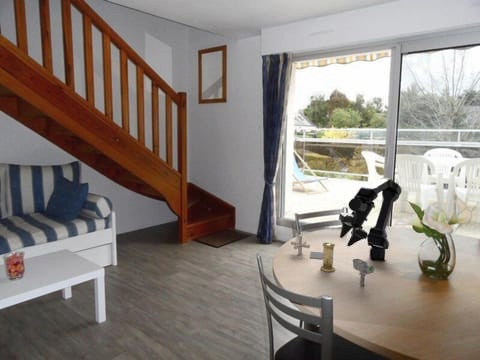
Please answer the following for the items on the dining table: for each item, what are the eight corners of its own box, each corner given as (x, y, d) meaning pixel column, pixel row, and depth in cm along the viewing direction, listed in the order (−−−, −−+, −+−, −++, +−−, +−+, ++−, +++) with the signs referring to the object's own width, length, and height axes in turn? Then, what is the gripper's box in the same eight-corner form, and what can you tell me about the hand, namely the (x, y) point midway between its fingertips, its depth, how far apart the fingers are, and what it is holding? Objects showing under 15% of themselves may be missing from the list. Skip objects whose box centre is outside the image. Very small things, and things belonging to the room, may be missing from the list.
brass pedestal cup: (334, 267, 170) (335, 242, 168) (334, 272, 164) (335, 247, 162) (320, 266, 171) (321, 241, 170) (320, 271, 165) (321, 245, 164)
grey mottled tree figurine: (368, 291, 146) (370, 267, 144) (350, 281, 155) (351, 258, 153) (374, 289, 147) (375, 265, 146) (355, 280, 156) (356, 257, 155)
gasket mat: (327, 253, 188) (327, 252, 188) (327, 259, 180) (327, 259, 180) (310, 252, 190) (310, 251, 190) (309, 258, 182) (309, 257, 182)
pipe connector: (304, 259, 180) (304, 239, 179) (286, 254, 186) (286, 235, 185) (313, 253, 188) (313, 234, 187) (296, 249, 194) (296, 231, 193)
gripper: (339, 199, 174) (323, 227, 177) (355, 213, 156) (336, 243, 159) (358, 209, 176) (342, 236, 179) (376, 223, 158) (357, 253, 161)
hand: (344, 241), depth 170 cm, fingers open, 9 cm apart
